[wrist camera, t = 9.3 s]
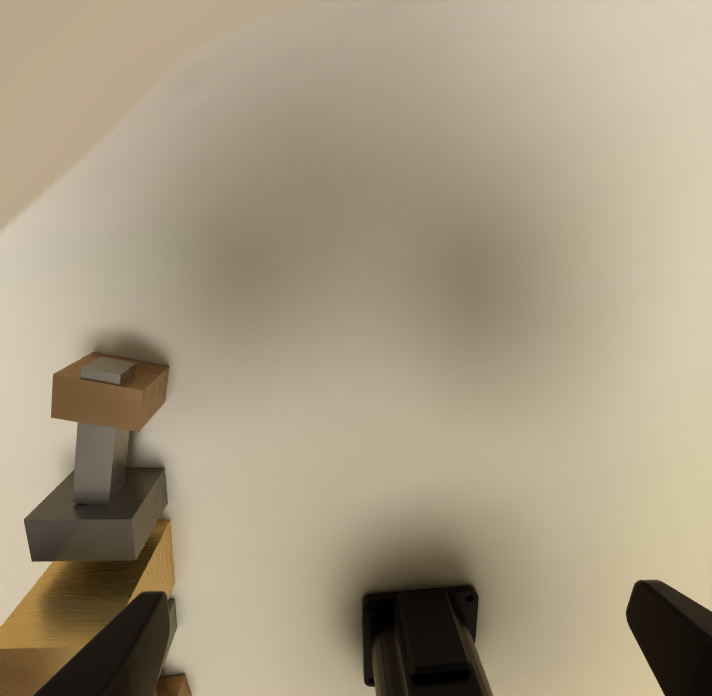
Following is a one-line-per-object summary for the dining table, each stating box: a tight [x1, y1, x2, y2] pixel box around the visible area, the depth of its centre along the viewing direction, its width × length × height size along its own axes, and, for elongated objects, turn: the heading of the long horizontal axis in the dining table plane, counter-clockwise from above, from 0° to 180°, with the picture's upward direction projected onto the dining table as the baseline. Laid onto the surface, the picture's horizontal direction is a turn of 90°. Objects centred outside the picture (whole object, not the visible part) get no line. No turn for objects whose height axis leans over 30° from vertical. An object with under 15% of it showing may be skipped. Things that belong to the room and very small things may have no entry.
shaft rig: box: [24, 352, 191, 696], centre depth 19 cm, size 22×4×4 cm, turn 176°
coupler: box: [0, 520, 175, 696], centre depth 18 cm, size 4×4×6 cm
